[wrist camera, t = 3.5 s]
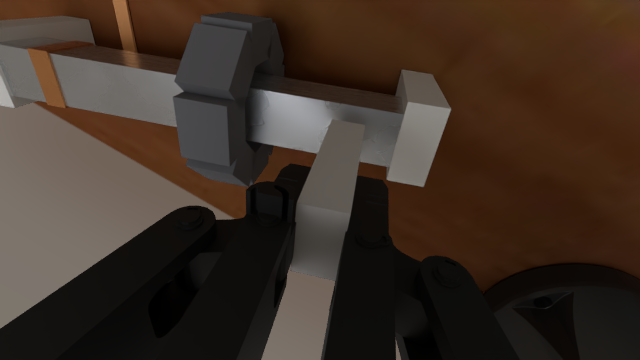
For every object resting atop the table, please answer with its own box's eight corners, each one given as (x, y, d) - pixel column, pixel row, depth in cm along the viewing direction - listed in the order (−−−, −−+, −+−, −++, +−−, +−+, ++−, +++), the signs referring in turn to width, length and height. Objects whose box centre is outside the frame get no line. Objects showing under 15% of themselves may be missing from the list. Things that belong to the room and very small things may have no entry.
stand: (446, 27, 19) (474, 44, 13) (403, 167, 24) (409, 226, 18) (51, -30, 21) (-81, -38, 15) (91, 108, 27) (5, 143, 21)
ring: (287, 15, 19) (223, 30, 12) (280, 144, 24) (232, 214, 17) (248, 9, 20) (161, 20, 12) (250, 138, 24) (188, 205, 17)
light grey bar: (419, 97, 18) (425, 116, 15) (404, 147, 19) (407, 173, 17) (28, 32, 20) (-28, 38, 17) (46, 82, 22) (-2, 95, 19)
